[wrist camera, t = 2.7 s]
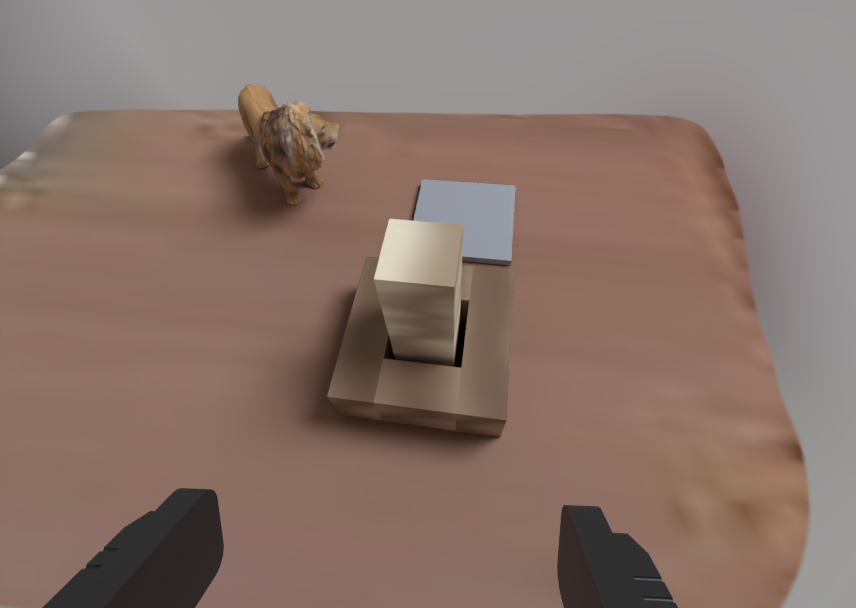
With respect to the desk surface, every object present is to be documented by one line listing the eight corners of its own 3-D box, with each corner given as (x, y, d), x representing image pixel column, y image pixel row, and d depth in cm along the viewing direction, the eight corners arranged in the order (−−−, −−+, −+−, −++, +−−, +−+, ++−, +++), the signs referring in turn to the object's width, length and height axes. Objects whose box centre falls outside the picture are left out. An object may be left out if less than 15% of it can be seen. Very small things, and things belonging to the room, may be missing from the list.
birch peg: (399, 374, 28) (373, 279, 19) (408, 327, 30) (389, 218, 21) (453, 381, 28) (454, 286, 18) (459, 332, 30) (463, 224, 20)
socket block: (340, 415, 27) (326, 396, 24) (374, 285, 32) (366, 256, 29) (499, 437, 26) (506, 420, 23) (508, 298, 31) (514, 269, 28)
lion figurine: (363, 197, 37) (340, 101, 29) (313, 230, 35) (275, 137, 28) (272, 124, 43) (234, 29, 35) (226, 150, 41) (175, 55, 34)
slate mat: (407, 256, 33) (406, 251, 33) (422, 184, 37) (422, 179, 37) (510, 265, 32) (511, 260, 32) (514, 191, 37) (515, 185, 36)
